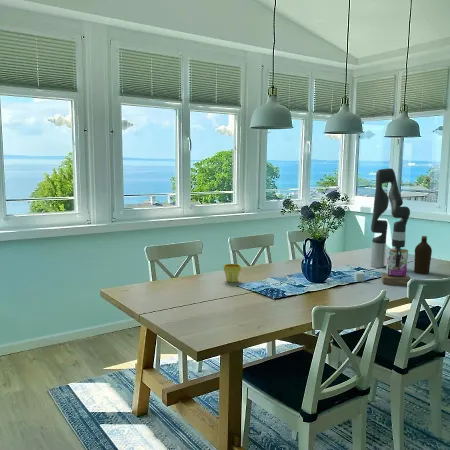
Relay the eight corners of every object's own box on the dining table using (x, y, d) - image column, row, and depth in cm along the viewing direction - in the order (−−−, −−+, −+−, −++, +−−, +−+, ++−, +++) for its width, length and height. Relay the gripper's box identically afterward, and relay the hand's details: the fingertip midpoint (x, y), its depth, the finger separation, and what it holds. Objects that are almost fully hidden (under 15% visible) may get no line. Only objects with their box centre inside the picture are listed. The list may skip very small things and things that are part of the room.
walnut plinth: (381, 278, 299) (381, 272, 298) (407, 280, 295) (408, 274, 294) (383, 284, 285) (383, 277, 285) (410, 286, 282) (411, 280, 281)
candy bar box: (387, 275, 288) (389, 249, 285) (385, 273, 293) (387, 248, 290) (406, 276, 287) (408, 250, 284) (404, 274, 292) (406, 248, 289)
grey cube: (353, 279, 296) (354, 271, 295) (361, 279, 296) (362, 271, 295) (356, 281, 291) (356, 273, 290) (364, 281, 291) (364, 273, 290)
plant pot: (229, 277, 294) (230, 262, 293) (243, 280, 288) (244, 265, 287) (220, 281, 286) (220, 265, 284) (234, 284, 280) (234, 268, 278)
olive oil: (425, 275, 310) (428, 238, 306) (410, 272, 318) (412, 235, 314) (432, 273, 316) (436, 236, 313) (418, 270, 324) (420, 234, 321)
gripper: (391, 236, 294) (389, 262, 297) (393, 240, 280) (391, 267, 283) (403, 237, 292) (401, 263, 295) (406, 241, 278) (404, 268, 281)
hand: (396, 265), depth 289 cm, fingers closed on candy bar box, 5 cm apart
